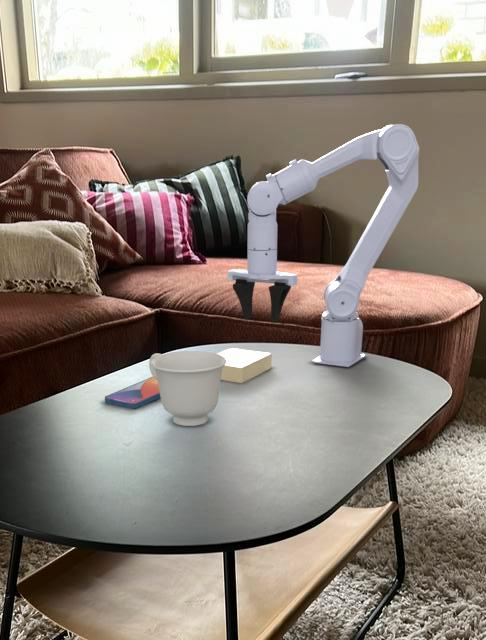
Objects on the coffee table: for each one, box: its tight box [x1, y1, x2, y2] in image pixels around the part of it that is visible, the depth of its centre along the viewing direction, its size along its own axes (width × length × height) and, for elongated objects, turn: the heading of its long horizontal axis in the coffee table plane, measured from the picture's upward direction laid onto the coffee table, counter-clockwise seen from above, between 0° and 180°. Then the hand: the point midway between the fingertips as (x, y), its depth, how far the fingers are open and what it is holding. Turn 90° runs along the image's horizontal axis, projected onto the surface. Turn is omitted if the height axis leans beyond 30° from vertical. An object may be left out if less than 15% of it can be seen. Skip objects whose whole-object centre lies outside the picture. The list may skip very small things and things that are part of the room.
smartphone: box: [104, 376, 161, 409], centre depth 137 cm, size 7×15×1 cm, turn 145°
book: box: [216, 347, 272, 384], centre depth 149 cm, size 12×9×3 cm
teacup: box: [148, 350, 227, 427], centre depth 123 cm, size 12×15×10 cm
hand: (261, 319), depth 153 cm, fingers open, 6 cm apart
